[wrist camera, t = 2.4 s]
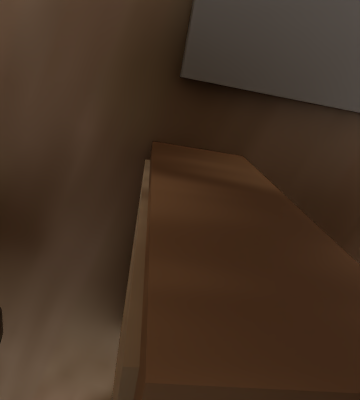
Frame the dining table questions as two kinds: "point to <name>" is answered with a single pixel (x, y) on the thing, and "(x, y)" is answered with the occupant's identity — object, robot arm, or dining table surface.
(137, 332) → the walnut slab
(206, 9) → the rubber mat
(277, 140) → the dining table surface
